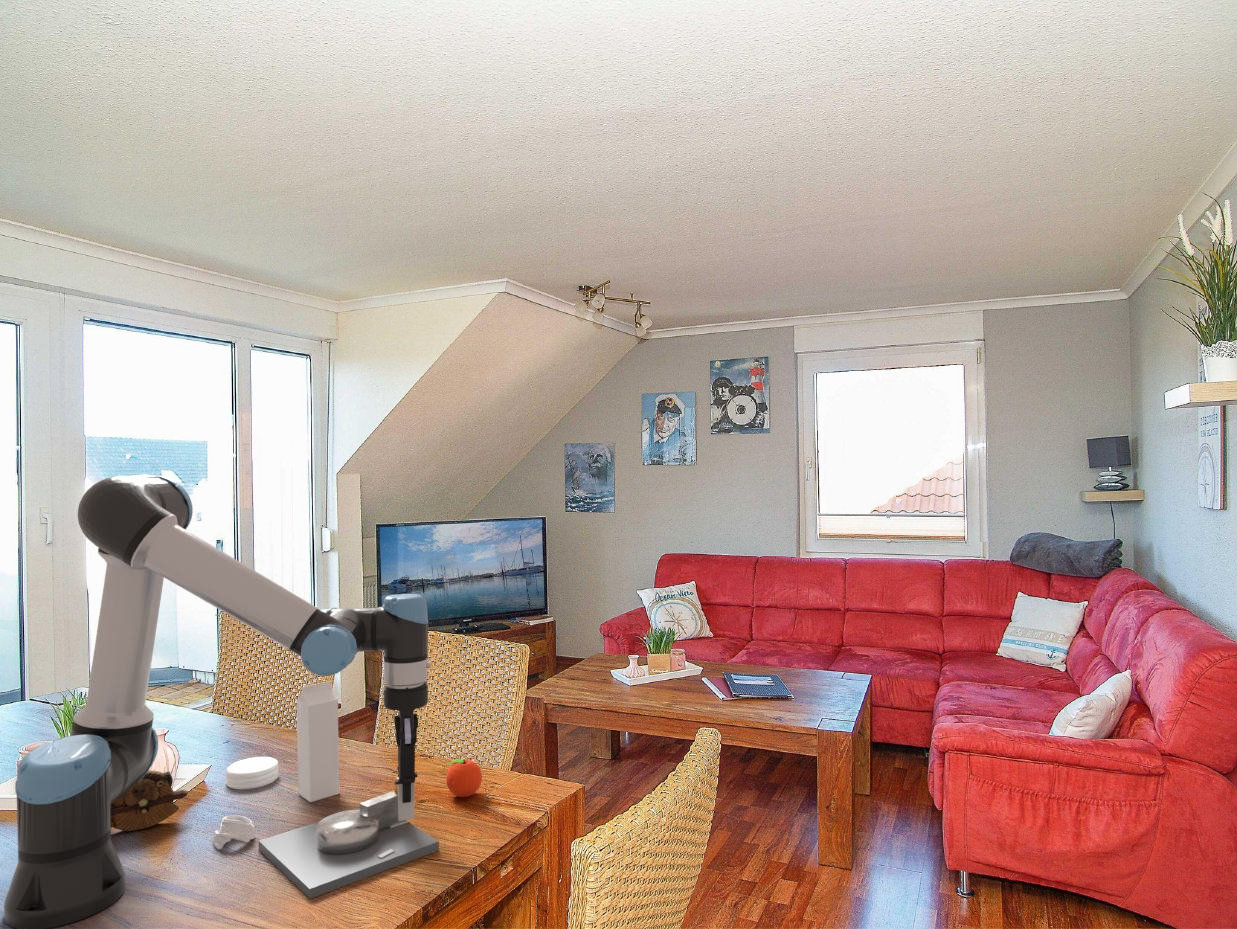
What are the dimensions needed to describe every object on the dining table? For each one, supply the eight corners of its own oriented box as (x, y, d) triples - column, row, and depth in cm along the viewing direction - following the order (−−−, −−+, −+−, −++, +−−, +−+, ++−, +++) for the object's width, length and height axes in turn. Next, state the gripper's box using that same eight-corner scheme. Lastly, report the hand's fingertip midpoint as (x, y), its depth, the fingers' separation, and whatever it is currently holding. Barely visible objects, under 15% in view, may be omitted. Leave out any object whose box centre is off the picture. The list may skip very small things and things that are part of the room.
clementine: (435, 801, 158) (434, 764, 158) (450, 787, 165) (450, 751, 165) (473, 804, 156) (473, 767, 156) (487, 790, 163) (487, 754, 163)
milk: (339, 794, 162) (338, 683, 162) (309, 803, 158) (308, 689, 158) (326, 785, 167) (325, 677, 167) (297, 793, 163) (296, 683, 163)
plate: (309, 898, 123) (309, 887, 123) (258, 849, 139) (258, 839, 139) (439, 850, 138) (438, 840, 138) (379, 810, 154) (379, 801, 154)
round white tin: (261, 791, 165) (260, 774, 165) (215, 789, 166) (215, 772, 166) (288, 773, 174) (287, 756, 174) (245, 771, 176) (244, 754, 176)
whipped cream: (209, 844, 144) (205, 817, 144) (249, 829, 148) (245, 802, 148) (220, 857, 138) (216, 829, 138) (262, 841, 142) (258, 813, 142)
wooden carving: (84, 846, 142) (83, 788, 142) (84, 836, 145) (83, 780, 145) (190, 821, 151) (189, 767, 151) (187, 813, 155) (187, 760, 154)
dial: (337, 859, 131) (336, 814, 131) (305, 842, 138) (304, 799, 138) (426, 822, 145) (426, 781, 145) (393, 807, 151) (393, 768, 151)
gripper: (430, 690, 138) (431, 830, 138) (425, 673, 151) (425, 801, 150) (384, 694, 136) (384, 836, 136) (383, 676, 148) (383, 807, 148)
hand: (406, 818), depth 143 cm, fingers closed
